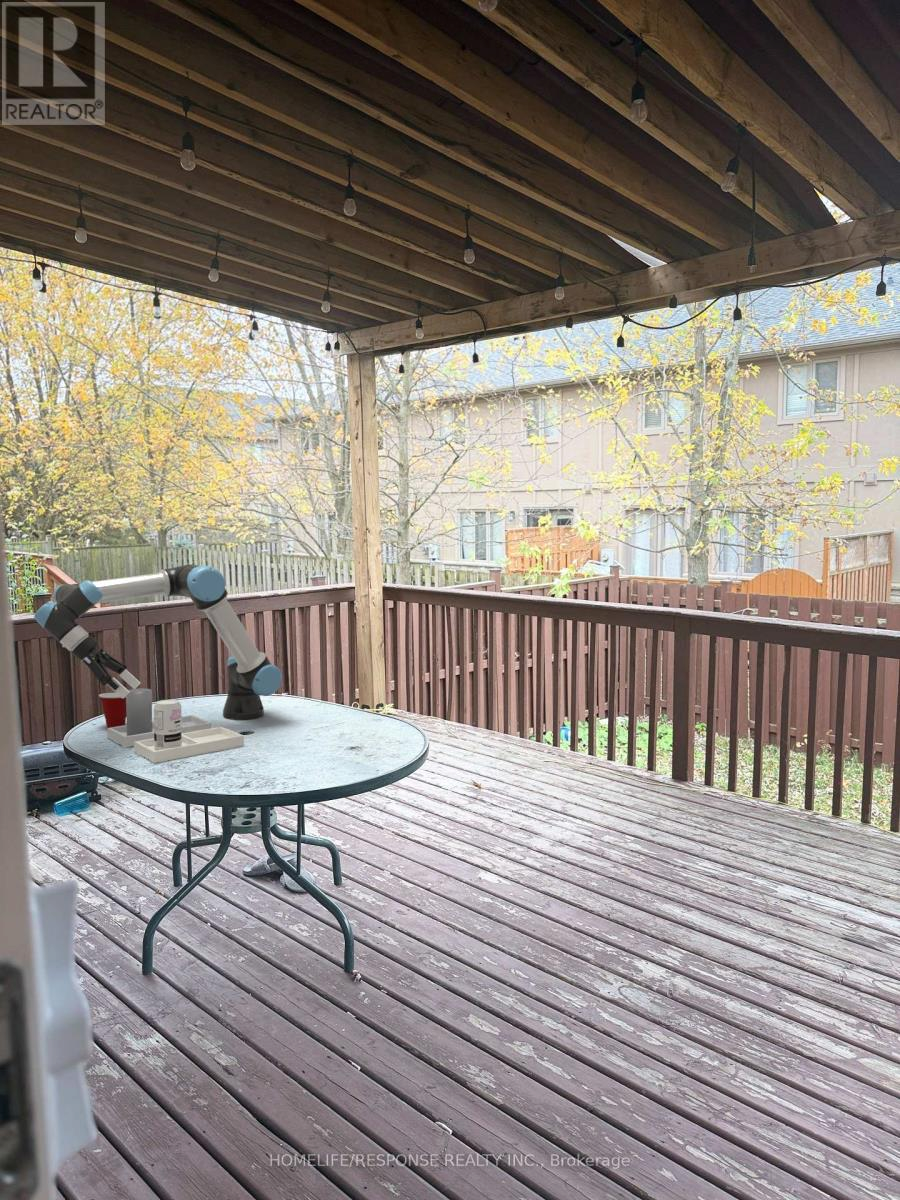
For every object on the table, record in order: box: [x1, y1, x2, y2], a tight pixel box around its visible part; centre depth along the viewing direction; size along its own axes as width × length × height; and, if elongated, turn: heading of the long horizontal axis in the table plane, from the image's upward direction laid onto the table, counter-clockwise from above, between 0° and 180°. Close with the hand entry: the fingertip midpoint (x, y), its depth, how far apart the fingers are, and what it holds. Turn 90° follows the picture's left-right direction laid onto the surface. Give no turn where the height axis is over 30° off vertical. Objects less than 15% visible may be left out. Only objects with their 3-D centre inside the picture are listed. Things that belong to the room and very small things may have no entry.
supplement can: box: [153, 699, 182, 751], centre depth 251 cm, size 8×8×15 cm
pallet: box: [133, 726, 245, 764], centre depth 257 cm, size 30×15×4 cm, turn 134°
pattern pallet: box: [107, 687, 213, 748], centre depth 272 cm, size 30×15×16 cm, turn 134°
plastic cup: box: [98, 692, 127, 729], centre depth 283 cm, size 11×11×12 cm
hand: (132, 690), depth 249 cm, fingers open, 13 cm apart
